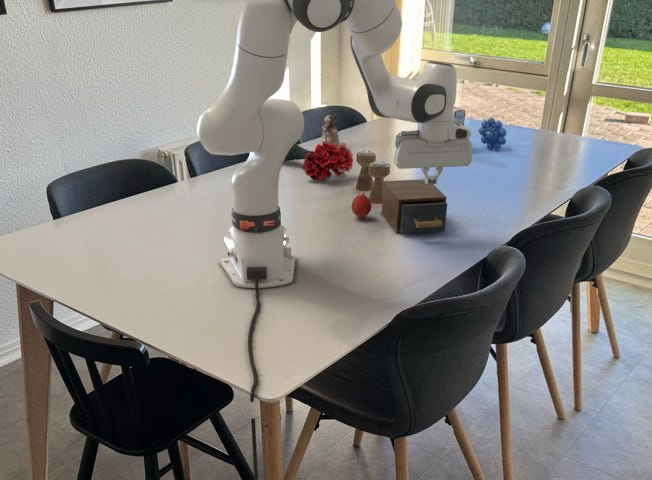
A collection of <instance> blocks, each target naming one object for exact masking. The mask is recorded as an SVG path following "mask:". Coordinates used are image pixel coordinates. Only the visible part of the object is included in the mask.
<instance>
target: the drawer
mask: <svg viewBox="0 0 652 480" xmlns="http://www.w3.org/2000/svg"><path fill="white" fill-rule="evenodd" d="M447 212H448V202H447V201H446V202H442V203H441V201H440V200H438V201H419V202H401V217H400V227H401V228H400V232H401V233H400V234H416V233H417V234H419V233H434V232H435V233H436V232H445V231H446V221H447Z"/></svg>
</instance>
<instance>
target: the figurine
mask: <svg viewBox="0 0 652 480" xmlns="http://www.w3.org/2000/svg"><path fill="white" fill-rule="evenodd" d="M336 118H337V115H336V114H334V115H331V114H328V115H326V116H325V117H324V118H323V119H324V120H323V124H322V126H321V129H322V135H321V140H320V145H322V146H323V143H324V142H326V143H329V144H334V145H335V147H338V145H339V144H340V139H339V138H340V137H339V134H338V133H339V132H338V129H337V128H338V121H337V120H336Z"/></svg>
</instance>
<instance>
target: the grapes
mask: <svg viewBox="0 0 652 480" xmlns="http://www.w3.org/2000/svg"><path fill="white" fill-rule="evenodd" d="M480 123H481V127H479V129H478V134H479V135H480V136H481V137H480V142H481V143H482V144H483V145H486V147H487V149H488V150H493V149H495V150H497V151H499V150H501V148H502V146H504V145H505V144H506V143H507V139H506V136H507V130H506V128H504V127H503V123H502V121H501V120H496V119H495V118H494V117H492V116H491V117H488V118H487V119H483V120H482V121H481V122H480Z"/></svg>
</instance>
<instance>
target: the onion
mask: <svg viewBox="0 0 652 480" xmlns="http://www.w3.org/2000/svg"><path fill="white" fill-rule="evenodd" d="M372 206H373V205H372V202H371V200H370V199H369V197H368V196H366V195H365V193H364V191H362V192H360V193H359V194H358V195H356V197H354V198H353V200H352V203H351V211H352V213H353V214H354V215H355V216H356V217H357V218H359V219H361V220H362V219H364V218H365V217H367V216H368V215H369V214H370V213H371V211H372Z"/></svg>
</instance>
